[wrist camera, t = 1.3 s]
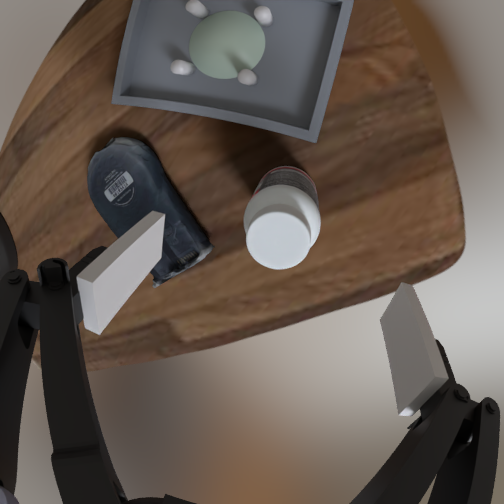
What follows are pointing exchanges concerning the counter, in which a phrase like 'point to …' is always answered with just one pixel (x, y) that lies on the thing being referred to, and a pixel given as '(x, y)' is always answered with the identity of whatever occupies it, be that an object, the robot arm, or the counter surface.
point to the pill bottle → (282, 218)
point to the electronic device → (144, 203)
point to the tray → (234, 60)
